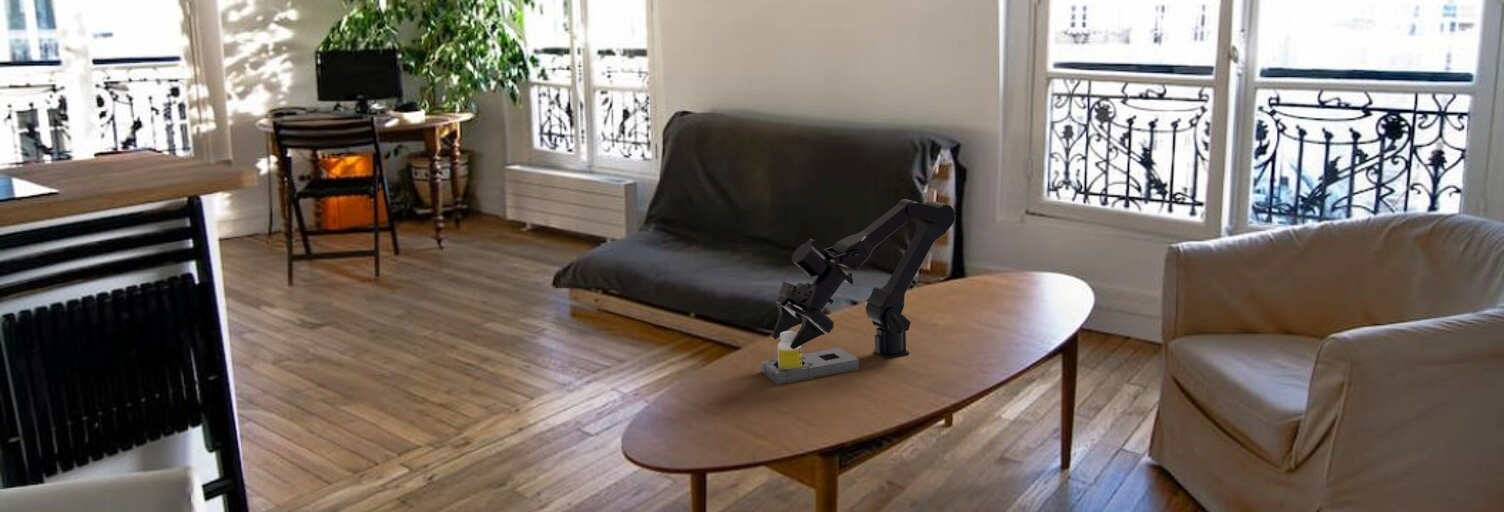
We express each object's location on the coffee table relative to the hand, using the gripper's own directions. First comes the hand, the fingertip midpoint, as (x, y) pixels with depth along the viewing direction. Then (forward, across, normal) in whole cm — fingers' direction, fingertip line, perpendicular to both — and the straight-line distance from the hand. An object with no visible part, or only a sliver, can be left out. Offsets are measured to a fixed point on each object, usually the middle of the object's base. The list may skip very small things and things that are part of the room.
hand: (782, 343), depth 268 cm
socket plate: (+1, 0, +10) cm, 10 cm away
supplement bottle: (+4, 0, +7) cm, 8 cm away
